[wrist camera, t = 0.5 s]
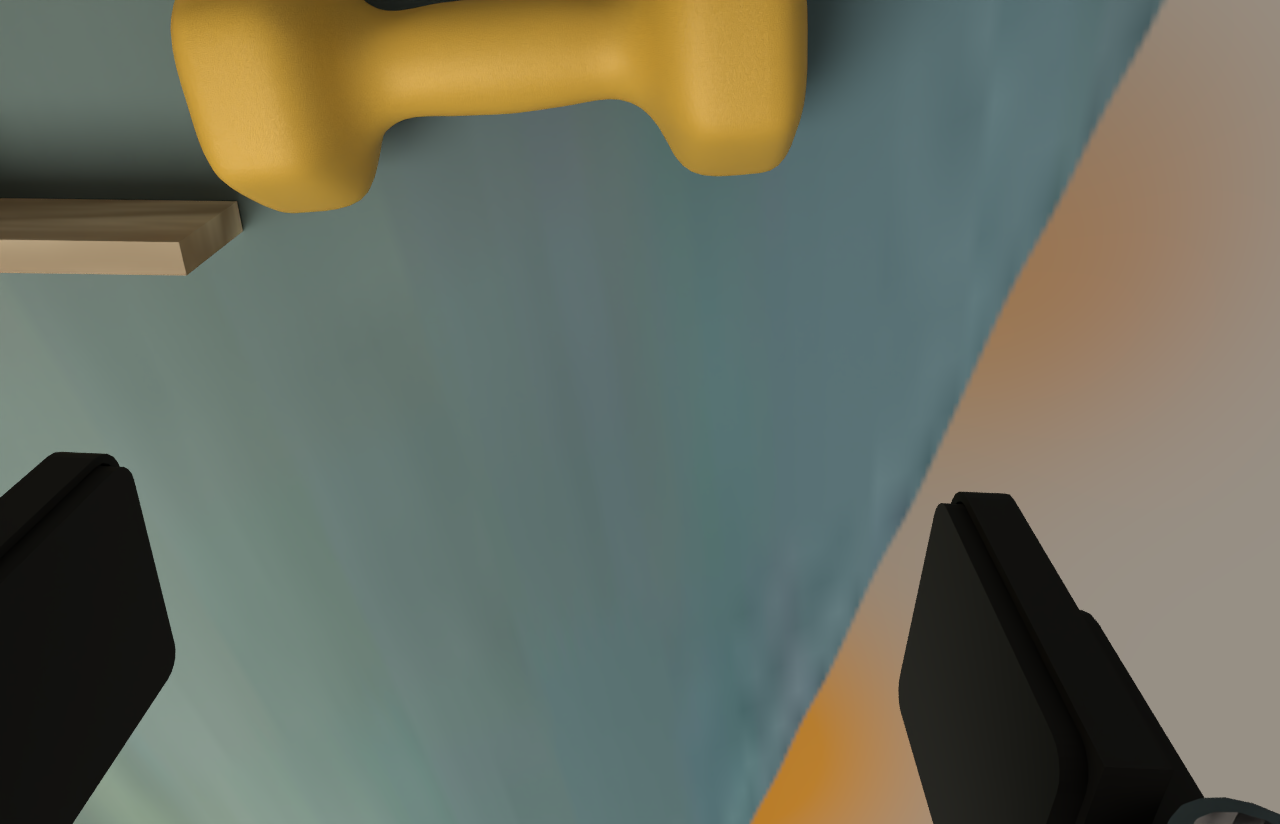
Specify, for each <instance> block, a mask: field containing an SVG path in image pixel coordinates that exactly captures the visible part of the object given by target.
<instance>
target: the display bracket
mask: <svg viewBox="0 0 1280 824" xmlns="http://www.w3.org/2000/svg"><path fill="white" fill-rule="evenodd" d="M242 231H243V229H242V224H241V219H240V214H239V209H238V204H237V201H181V200H106V199H30V198H0V273H59V274H126V275H188V274H189V273H190V272H191V271H193V270H194V269H195V268H197V267H198V266H199V265H200V264H202V263H203V262H204V261H206V260H207V259H208V258H209V257H211V256H212V255H213V254H214V253H216V252H217V251H218V250H220V249H221V248H222V247H223V246H225V245H226V244H227V243H228V242H230V241H231V240H232V239H234V238H235V237H236V236H237V235H239V234H240V233H241V232H242Z"/></svg>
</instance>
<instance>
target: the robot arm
mask: <svg viewBox="0 0 1280 824" xmlns="http://www.w3.org/2000/svg"><path fill="white" fill-rule="evenodd" d="M174 661H175V643H174V639H173V635H172V631H171V627H170V623H169V619H168V615H167V611H166V607H165V603H164V599H163V595H162V591H161V587H160V583H159V579H158V575H157V571H156V567H155V563H154V559H153V555H152V551H151V546H150V542H149V538H148V534H147V530H146V526H145V522H144V518H143V514H142V510H141V506H140V502H139V498H138V494H137V490H136V486H135V482H134V479H133V476H132V473H131V472H130V471H129V470H128V469H127V468H125V467H120V466H119V464H118V462H117V461H116V460H115V458H114V457H112V456H110V455H108V454H97V453H74V452H55V453H53V454H51V455H50V456H48V457H47V458H45V459H44V460H43V461H42V462H41V463H40V464H39V465H37V466H36V467H35V468H34V469H33V470H32V471H30V472H29V473H28V474H27V475H26V476H25V477H24V478H22V479H21V480H20V481H19V482H18V483H17V484H15V485H14V486H13V487H12V488H11V489H10V490H8V491H7V492H6V493H5V494H4V495H3V496H2V497H0V824H73V822H74V821H75V819H76V818H77V816H78V815H79V813H80V812H81V810H82V809H83V807H84V805H85V804H86V802H87V801H88V799H89V798H90V796H91V795H92V793H93V792H94V790H95V789H96V787H97V786H98V784H99V783H100V781H101V780H102V778H103V777H104V775H105V774H106V772H107V771H108V769H109V768H110V766H111V765H112V763H113V762H114V760H115V759H116V757H117V755H118V754H119V752H120V751H121V749H122V748H123V746H124V745H125V743H126V742H127V740H128V739H129V737H130V736H131V734H132V733H133V731H134V730H135V728H136V727H137V725H138V724H139V722H140V721H141V719H142V718H143V716H144V715H145V713H146V712H147V710H148V709H149V707H150V705H151V704H152V702H153V701H154V699H155V698H156V696H157V695H158V693H159V692H160V690H161V689H162V687H163V686H164V684H165V683H166V681H167V680H168V678H169V676H170V674H171V672H172V669H173V666H174ZM899 705H900V710H901V714H902V718H903V721H904V724H905V728H906V731H907V735H908V738H909V741H910V745H911V749H912V752H913V755H914V759H915V762H916V765H917V769H918V773H919V776H920V779H921V783H922V786H923V790H924V793H925V797H926V800H927V803H928V807H929V810H930V814H931V817H932V821H933V824H1280V814H1278V813H1275V812H1273V811H1270V810H1268V809H1266V808H1263V807H1261V806H1258V805H1256V804H1253V803H1249V802H1244V801H1240V800H1235V799H1230V798H1225V797H1223V798H1204V796H1203V795H1202V793H1201V791H1200V790H1199V788H1198V787H1197V785H1196V783H1195V782H1194V780H1193V778H1192V777H1191V775H1190V773H1189V772H1188V770H1187V768H1186V767H1185V765H1184V763H1183V762H1182V760H1181V759H1180V757H1179V755H1178V754H1177V752H1176V750H1175V749H1174V747H1173V745H1172V744H1171V742H1170V740H1169V739H1168V737H1167V736H1166V734H1165V732H1164V731H1163V729H1162V727H1161V726H1160V724H1159V722H1158V721H1157V719H1156V717H1155V716H1154V714H1153V713H1152V711H1151V709H1150V708H1149V706H1148V704H1147V703H1146V701H1145V700H1144V698H1143V696H1142V694H1141V693H1140V691H1139V690H1138V688H1137V686H1136V685H1135V683H1134V681H1133V680H1132V678H1131V676H1130V675H1129V673H1128V671H1127V670H1126V668H1125V667H1124V665H1123V663H1122V662H1121V660H1120V658H1119V657H1118V655H1117V653H1116V652H1115V650H1114V649H1113V647H1112V645H1111V643H1110V642H1109V640H1108V639H1107V637H1106V635H1105V634H1104V632H1103V630H1102V629H1101V627H1100V625H1099V624H1098V623H1097V621H1096V620H1095V619H1094V618H1093V617H1092V615H1091V614H1089V613H1087V612H1085V611H1083V610H1079V609H1078V607H1077V605H1076V603H1075V602H1074V600H1073V598H1072V597H1071V595H1070V593H1069V592H1068V590H1067V588H1066V587H1065V585H1064V583H1063V582H1062V580H1061V578H1060V576H1059V575H1058V573H1057V571H1056V570H1055V568H1054V566H1053V565H1052V563H1051V561H1050V560H1049V558H1048V556H1047V555H1046V553H1045V551H1044V550H1043V548H1042V546H1041V544H1040V543H1039V541H1038V539H1037V538H1036V536H1035V534H1034V533H1033V531H1032V529H1031V528H1030V526H1029V524H1028V522H1027V521H1026V519H1025V517H1024V516H1023V514H1022V512H1021V511H1020V509H1019V507H1018V506H1017V504H1016V502H1015V501H1014V499H1013V498H1012V497H1011V496H1010V495H1009V494H1001V493H978V492H958V493H956V494H955V496H954V498H953V499H952V502H951V504H946V503H941V504H939V505H938V506H937V508H936V511H935V514H934V518H933V523H932V528H931V533H930V537H929V542H928V547H927V551H926V556H925V561H924V566H923V571H922V575H921V580H920V585H919V589H918V594H917V598H916V603H915V608H914V613H913V617H912V622H911V627H910V632H909V636H908V641H907V645H906V650H905V655H904V660H903V664H902V669H901V674H900V679H899Z"/></svg>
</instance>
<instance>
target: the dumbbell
mask: <svg viewBox="0 0 1280 824" xmlns="http://www.w3.org/2000/svg"><path fill="white" fill-rule="evenodd" d="M171 38H172V47H173V53H174V58H175V63H176V68H177V71H178V75H179V78H180V82H181V85H182V89H183V92H184V95H185V98H186V102H187V105H188V108H189V112H190V115H191V118H192V122H193V125H194V128H195V131H196V134H197V137H198V140H199V143H200V145H201V147H202V150H203V152H204V154H205V156H206V158H207V160H208V162H209V164H210V165H211V167H212V169H213V171H214V172H215V173H216V174H217V176H218V177H219V178H220V179H221V180H222V181H224V182H225V183H226V184H227V185H229V186H230V187H231V188H232V189H234V190H236V191H237V192H239V193H241V194H242V195H244V196H246V197H248V198H250V199H252V200H254V201H256V202H258V203H260V204H262V205H264V206H266V207H269V208H272V209H274V210H277V211H280V212H285V213H302V212H316V211H327V210H334V209H339V208H343V207H346V206H350V205H352V204H354V203H356V202H358V201H360V200H361V199H362V198H363V197H364V196H365V195H366V193H367V192H368V191H369V189H370V187H371V184H372V182H373V180H374V177H375V174H376V170H377V165H378V161H379V156H380V151H381V146H382V140H383V135H384V134H385V132H386V131H387V130H388V129H389V128H390V127H392V126H393V125H394V124H396V123H398V122H400V121H402V120H404V119H409V118H413V117H422V116H467V115H493V114H510V113H520V112H528V111H535V110H542V109H548V108H555V107H562V106H568V105H574V104H579V103H584V102H590V101H595V100H604V99H619V100H623V101H627V102H631V103H633V104H635V105H636V106H638V107H640V108H642V109H643V110H644V111H645V112H646V113H647V114H648V115H650V116H651V118H652V119H653V120H654V122H655V123H656V124H657V125H658V127H659V128H660V130H661V132H662V133H663V135H664V137H665V139H666V140H667V142H668V144H669V146H670V148H671V150H672V151H673V153H674V155H675V156H676V158H677V159H678V160H679V161H680V162H681V164H682V165H683V166H685V167H686V168H687V169H689V170H690V171H692V172H695V173H698V174H701V175H708V176H731V175H744V174H754V173H762V172H766V171H770V170H772V169H773V168H775V167H776V166H778V165H779V164H780V163H781V161H782V160H783V159H784V158H785V156H786V155H787V153H788V151H789V149H790V147H791V145H792V142H793V139H794V136H795V133H796V130H797V127H798V125H799V122H800V118H801V115H802V110H803V106H804V100H805V92H806V80H807V50H808V22H807V0H460V1H452V2H444V3H437V4H431V5H426V6H421V7H417V8H412V9H407V10H400V11H386V10H381V9H378V8H375V7H373V6H371V5H369V4H368V3H367V2H366V1H364V0H175V2H174V6H173V11H172V16H171Z"/></svg>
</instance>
